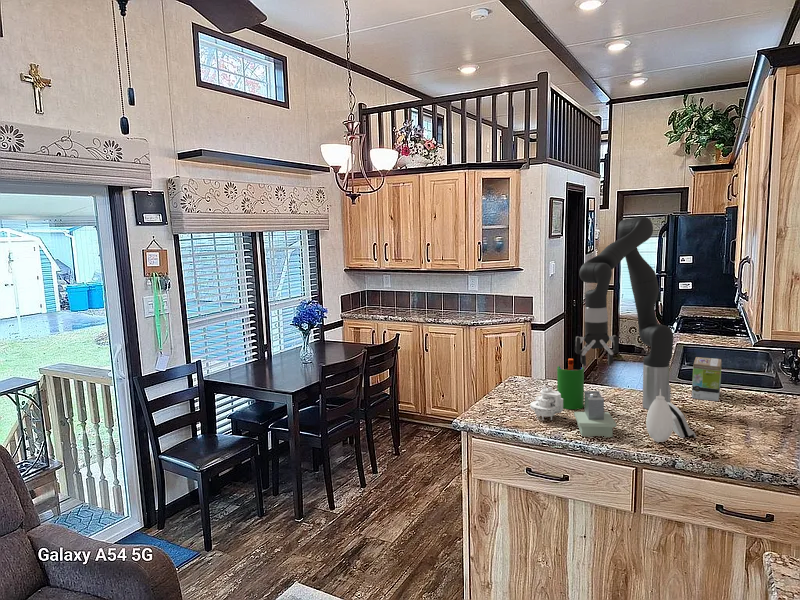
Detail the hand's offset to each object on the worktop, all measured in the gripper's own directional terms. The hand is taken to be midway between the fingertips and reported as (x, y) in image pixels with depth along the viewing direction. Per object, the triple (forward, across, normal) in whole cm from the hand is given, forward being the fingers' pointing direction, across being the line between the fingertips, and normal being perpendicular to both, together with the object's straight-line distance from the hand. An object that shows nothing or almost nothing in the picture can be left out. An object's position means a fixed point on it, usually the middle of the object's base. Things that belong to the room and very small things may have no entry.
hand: (596, 365), depth 189 cm
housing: (+18, +2, +2) cm, 18 cm away
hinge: (+24, -26, 0) cm, 35 cm away
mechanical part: (+23, +17, -9) cm, 30 cm away
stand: (+23, +2, +4) cm, 23 cm away
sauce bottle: (+23, -17, +13) cm, 31 cm away
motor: (+23, +5, -24) cm, 34 cm away
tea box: (+25, -52, -41) cm, 70 cm away
